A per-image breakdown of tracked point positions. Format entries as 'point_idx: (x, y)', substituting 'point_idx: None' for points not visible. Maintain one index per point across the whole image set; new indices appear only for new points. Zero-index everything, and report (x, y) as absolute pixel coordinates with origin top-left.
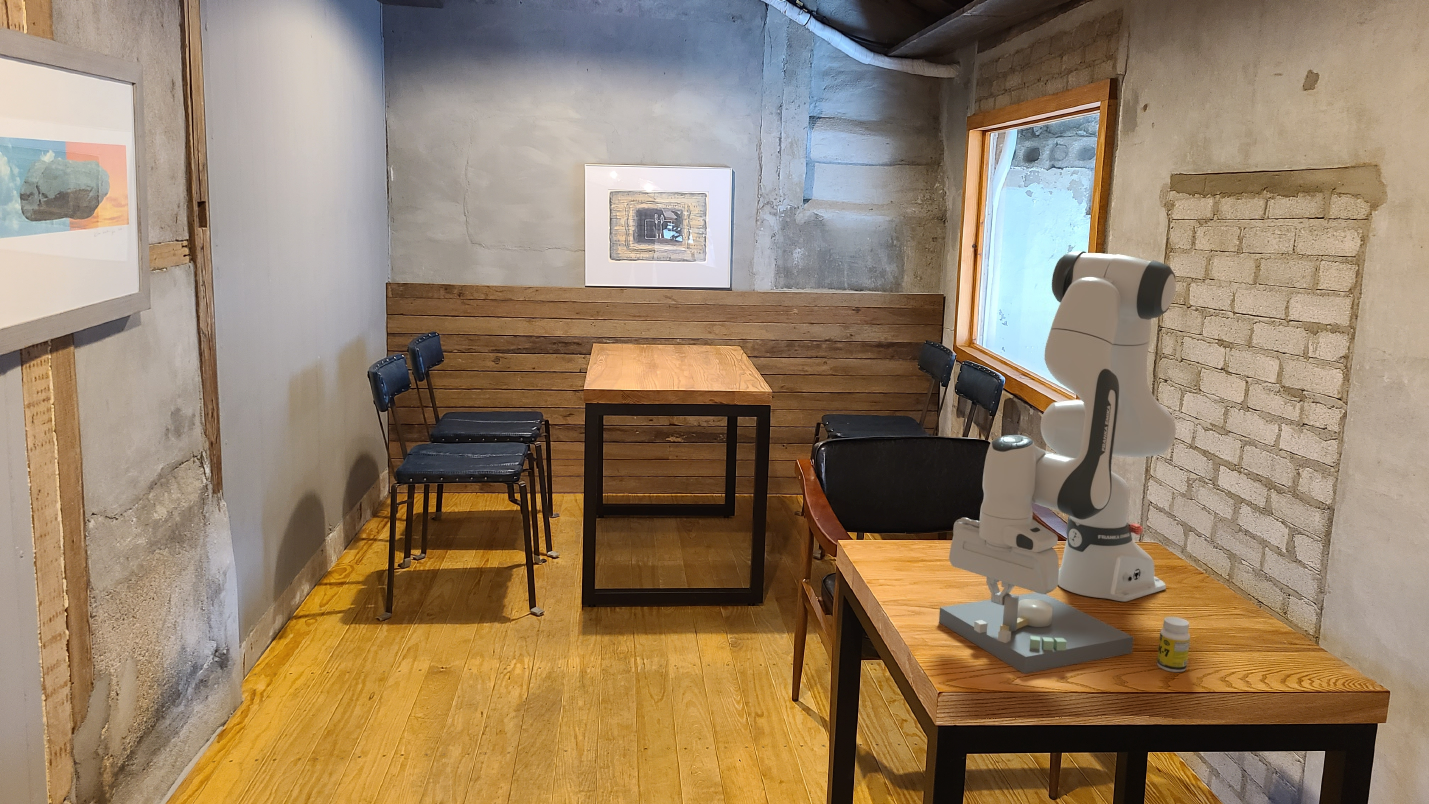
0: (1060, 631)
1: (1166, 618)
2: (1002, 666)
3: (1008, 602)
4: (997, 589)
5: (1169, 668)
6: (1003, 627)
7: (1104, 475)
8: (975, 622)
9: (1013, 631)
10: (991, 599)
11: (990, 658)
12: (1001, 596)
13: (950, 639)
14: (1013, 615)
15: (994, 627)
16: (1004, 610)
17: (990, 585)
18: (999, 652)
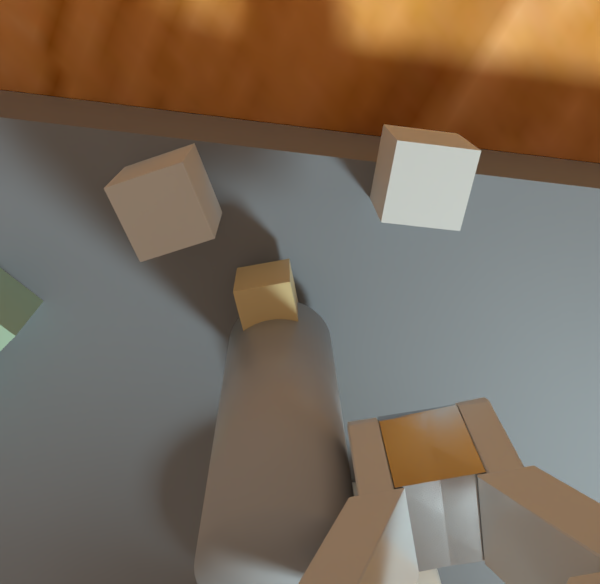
0: (154, 568)
1: None
2: (66, 33)
3: (255, 468)
4: (509, 565)
5: None
6: (258, 283)
7: None
8: (465, 148)
9: None
10: (484, 410)
11: (209, 60)
12: (367, 489)
13: (592, 45)
14: (219, 407)
15: (397, 304)
16: (301, 393)
17: (588, 543)
18: (174, 120)
